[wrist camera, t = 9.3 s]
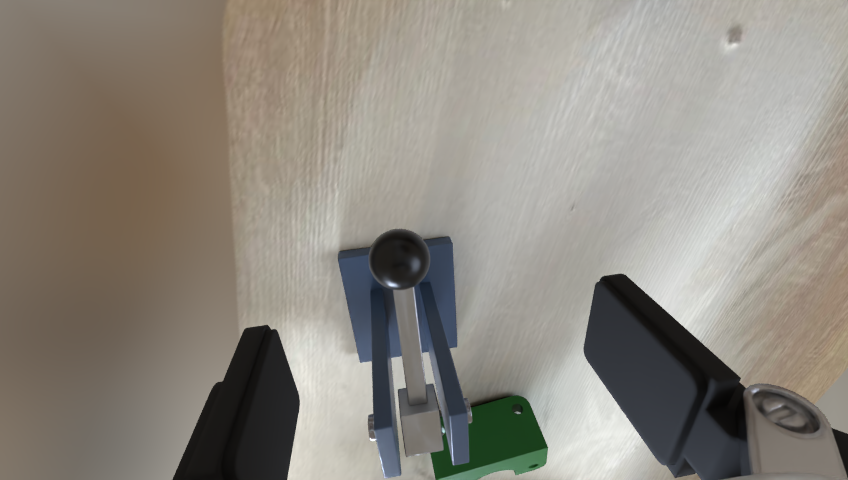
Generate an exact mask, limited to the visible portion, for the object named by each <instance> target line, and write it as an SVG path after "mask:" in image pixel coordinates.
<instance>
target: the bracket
mask: <svg viewBox="0 0 848 480" xmlns="http://www.w3.org/2000/svg"><path fill="white" fill-rule="evenodd" d="M424 242H425V243H426V245H427V247H428V250H429V253H430V266H429V270H428V272H427V274H426V276H425V277H424V279H423V280H422V281H421V282H420V283H419V284H418V285H416V286H414V292H415V300H416V308H417V316H418V325H419V333H420V341H421V349H422V353H424V352H429V356H430V361H431V365H432V370H433V375H434V379H435V384H436V389H437V393H438V398H439V403H440V408H441V412H442V417H443V422H444V426H445V431H446V436H447V440H448V445H449V450H450V455H451V459H452V464H453V465H459V464H464V463H469V436H468V424H469V423H472V412H471V407H470V403H469V400H468V398H463V394H462V391H461V387H460V384H459V380H458V377H457V373H456V370H455V366H454V363H453V359H452V356H451V352H450V348H454V347H457V328H456V306H455V284H454V263H453V243H452V241H451V239H450V237H443V238H436V239H428V240H424ZM370 249H371V247H369V248H362V249H354V250H347V251H340V252H339V254H338V262H339V267H340V271H341V276H342V281H343V285H344V290H345V295H346V299H347V304H348V309H349V313H350V318H351V323H352V327H353V332H354V337H355V341H356V346H357V351H358V355H359V360H360V363H362V362H368V361H372V381H373V414H371V415H368V430H369V437H370V440H371V441H375V440H376V442H377V447H378V451H379V456H380V461H381V465H382V470H383V475H384V478H390V477H396V476H400V475H401V464H400V453H399V441H398V430H397V419H396V407H395V396H394V385H393V374H392V362H391V358H393V357H399V356H402V352H401V345H400V338H399V330H398V323H397V316H396V309H395V301H394V294H393V290H392V289H389V288H386V287H384V286H383V285H381V284H380V283H379V282H378V281H377V280H376V279H375V278H374V276H373V275H372V273H371V271H370V267H369V252H370Z"/></svg>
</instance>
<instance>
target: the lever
mask: <svg viewBox="0 0 848 480" xmlns="http://www.w3.org/2000/svg"><path fill="white" fill-rule="evenodd" d="M429 266H430V253H429V250H428V247H427V245H426V243H425V242H424V240H423V239H422V238H421V237H420V236H419V235H417V234H416V233H414V232H412V231H409V230H406V229H393V230H389V231H387V232H385V233H383V234H382V235H380V236H379V237H378V238H377V239H376V240H375V241H374V243H373V245H372V247H371V249H370V252H369V267H370V271H371V273H372V275H373V276H374V278H375V279H376V280H377V281H378V282H379V283H380V284H381V285H383V286H384V287H386V288H389V289H392V290H393V294H394V301H395V309H396V316H397V323H398V330H399V338H400V345H401V352H402V359H403V367H404V374H405V381H406V388H403V389H398V398H399V409H400V419H401V426H402V433H403V440H404V446H405V453H406V457H410V456H415V455H421V454H426V453H431V452H437V451H442V450H444V446H443V437H442V428H441V419H440V410H439V406H438V402H437V397H436V393H435V389H434V385H433V384H427V385H426V382H425V374H424V366H423V358H422V349H421V341H420V333H419V325H418V316H417V308H416V300H415V292H414V286H416V285H418V284H419V283H420V282H421V281H422V280H423V279H424V277H425V276H426V274H427V272H428V270H429Z"/></svg>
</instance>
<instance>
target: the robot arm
mask: <svg viewBox="0 0 848 480" xmlns="http://www.w3.org/2000/svg"><path fill="white" fill-rule="evenodd" d="M584 354H585V357H586V359H587V361H588V362H589V364H590V365H591V366H592V368H593V369H594V371H595V372H596V374H597V375H598V376H599V378H600V379H601V381H602V382H603V384H604V385H605V386H606V388H607V389H608V391H609V392H610V394H611V395H612V396H613V398H614V399H615V401H616V402H617V403H618V405H619V406H620V408H621V409H622V411H623V412H624V413H625V415H626V416H627V418H628V419H629V421H630V422H631V423H632V425H633V426H634V428H635V429H636V431H637V432H638V433H639V435H640V436H641V438H642V439H643V441H644V442H645V443H646V445H647V446H648V448H649V449H650V451H651V452H652V453H653V455H654V456H655V458H656V459H657V460H658V461H659V462H660V463H661V464H662V465H666V466H667V467H668V468H669V470H670V471H671V473H672V474H673V475H674V477H675V478H677V477H682V476H687V475H692V474H695V473H697V474H698V476H699V477H700V478H701V480H848V434H846V433H844V432H841V431H838V430H835V429H833V428H831V426H830V423H829V422H828V420H827V418H826V416H825V415H824V414H823V413H822V412H821V411H820V410H819V409H818V407H816V406H815V405H814V404H812V403H811V402H810V401H808V400H807V399H806V398H804V397H802V396H800V395H799V394H797V393H795V392H793V391H790V390H788V389H785V388H783V387H780V386H776V385H771V384H754V385H750V386H749V387H748V388H747V389H746V388H745V387H744V386H743V385H742V384H741V383H740V382H739V381H740V379H741V378H740V377H739V376H738V375H737V374H736V373H735V372H733V371H732V370H731V369H730V368H729V367H728V366H727V365H726V364H724V363H723V362H722V361H721V360H720V359H719V358H718V357H717V356H715V355H714V354H713V353H712V352H711V351H710V350H709V349H708V348H707V347H705V346H704V345H703V344H702V343H701V342H700V341H699V340H698V339H696V338H695V337H694V336H693V335H692V334H691V333H690V332H689V331H688V330H686V329H685V328H684V327H683V326H682V325H681V324H680V323H679V322H677V321H676V320H675V319H674V318H673V317H672V316H671V315H670V314H668V313H667V312H666V311H665V310H664V309H663V308H662V307H661V306H660V305H658V304H657V303H656V302H655V301H654V300H653V299H652V298H651V297H649V296H648V295H647V294H646V293H645V292H644V291H643V290H642V289H640V288H639V287H638V286H637V285H636V284H635V283H634V282H633V281H632V280H630V279H629V278H628V277H627V276H626V275H624V274H615V275H608V276H603V277H602V278H601V279H600V281H599V282H597V283H596V285H595V289H594V294H593V300H592V305H591V310H590V316H589V321H588V327H587V332H586V338H585V343H584ZM299 406H300V400H299V394H298V391H297V388H296V385H295V382H294V379H293V376H292V373H291V370H290V367H289V364H288V361H287V358H286V355H285V352H284V349H283V346H282V343H281V340H280V337H279V334H278V332H277V330H276V329H273V330H271V329H270V327H269V326H268V325H264V326H257V327H250V328H246V329H245V330H244V331H243V334H242V336H241V338H240V341H239V343H238V346H237V348H236V351H235V353H234V356H233V358H232V361H231V363H230V365H229V368H228V370H227V373H226V375H225V378H224V380H223V381H222V382H218V383H216V384H215V385H214V386H213V388H212V390H211V392H210V394H209V397H208V399H207V401H206V403H205V406H204V408H203V410H202V413H201V415H200V417H199V420H198V422H197V424H196V427H195V429H194V431H193V434H192V436H191V438H190V441H189V443H188V445H187V447H186V450H185V452H184V454H183V457H182V459H181V461H180V464H179V466H178V468H177V470H176V473H175V475H174V477H173V480H287V477H288V471H289V465H290V459H291V453H292V447H293V442H294V436H295V430H296V424H297V418H298V413H299Z"/></svg>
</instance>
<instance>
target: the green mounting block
mask: <svg viewBox="0 0 848 480" xmlns="http://www.w3.org/2000/svg"><path fill="white" fill-rule="evenodd" d="M516 411H518V412H521V414H515V413H514V412H516ZM471 412H472V423H469V424H468V436H469V463H464V464H459V465H453V464H452V459H451V455H450V450H449V445H448V440H447V436H446V431H445V426H444V422H443V417H442V416H441V417H440V419H441V428H442V433H445V434H444V435H443V436H442V437H443V446H444V450H442V451H437V452H431V458H432V463H433V468H434V473H435V479H436V480H478V479H479V478H481V477H483V476H485V475H488V474H490V473H494V472H497V471H502V470H514V472H515V475H518V474H522V473H525V472H529V471H532V470H535V469H538V468H540V467H542V466H544V465H545V464H546V460H547V451H548V447H547V444H546V442H545V439H544V437H543V435H542V432H541V430H540V427H539V425H538V422H537V420H536V418H535V415H534V413H533V410H532V408H531V406H530V403H529V402H528V401H527V400H526V399H525V398H524V397H521V396H517V395H516V396H511V397H507V398H504V399H500V400H497V401H493V402H490V403H486V404H483V405H479V406H476V407H472V408H471Z"/></svg>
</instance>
